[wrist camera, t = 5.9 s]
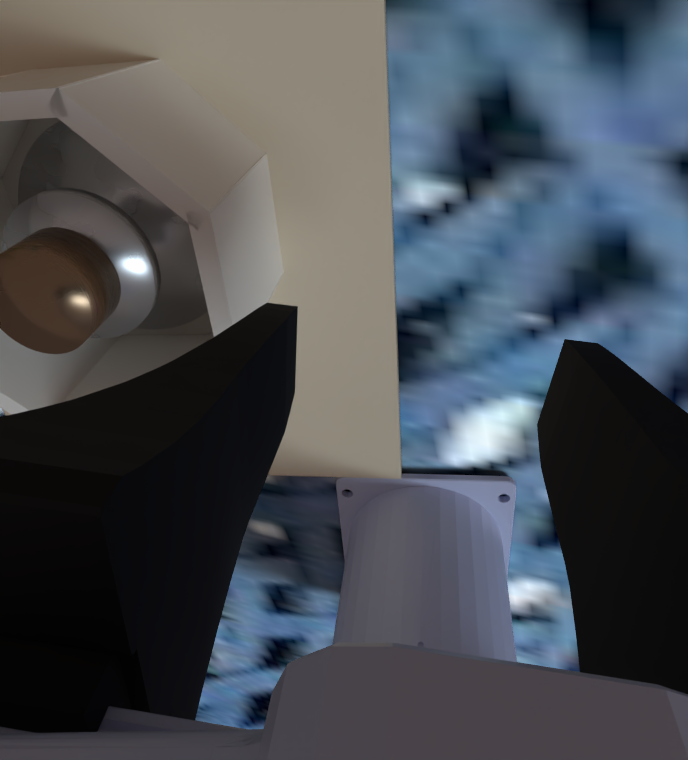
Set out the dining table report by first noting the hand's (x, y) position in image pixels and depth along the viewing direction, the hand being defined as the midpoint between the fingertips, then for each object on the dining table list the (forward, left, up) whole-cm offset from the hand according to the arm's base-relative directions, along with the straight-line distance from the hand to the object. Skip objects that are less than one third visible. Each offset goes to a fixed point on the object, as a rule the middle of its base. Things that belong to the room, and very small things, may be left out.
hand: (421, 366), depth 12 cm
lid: (0, +10, -9) cm, 14 cm away
